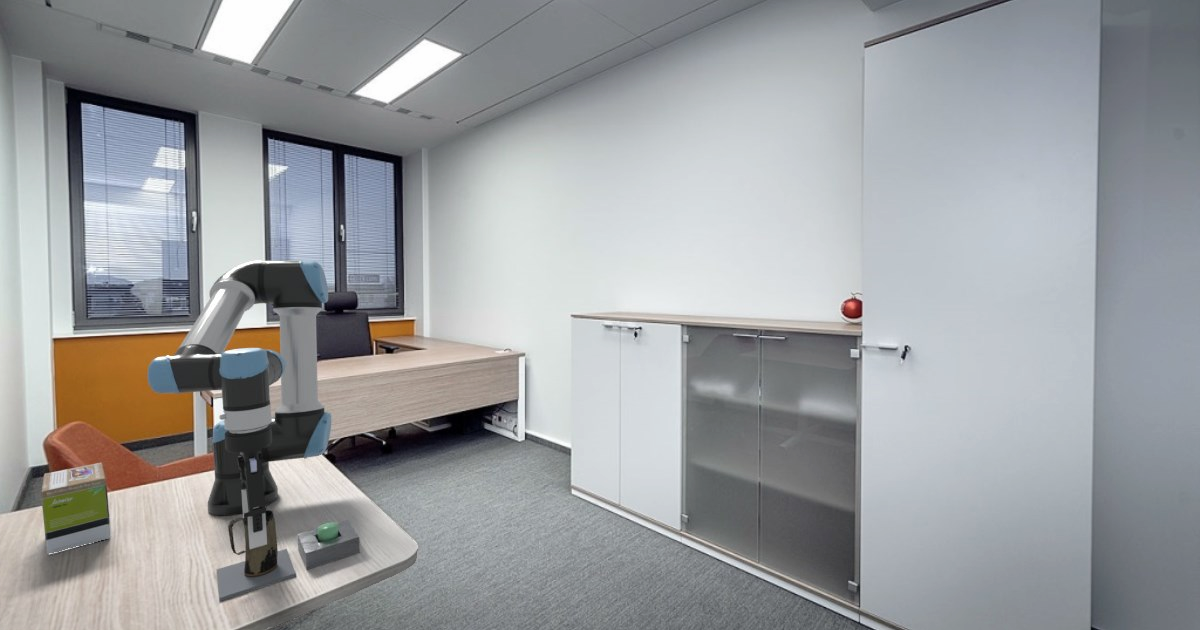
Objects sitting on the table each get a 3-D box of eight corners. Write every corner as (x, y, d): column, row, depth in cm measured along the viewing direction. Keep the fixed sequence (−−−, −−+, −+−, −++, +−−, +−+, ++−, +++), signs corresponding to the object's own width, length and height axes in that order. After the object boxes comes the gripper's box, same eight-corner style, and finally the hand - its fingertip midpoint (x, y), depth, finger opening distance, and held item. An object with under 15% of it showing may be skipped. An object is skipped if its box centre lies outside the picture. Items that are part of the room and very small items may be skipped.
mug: (268, 558, 103) (265, 502, 102) (284, 565, 100) (281, 508, 99) (225, 578, 96) (221, 519, 95) (241, 586, 93) (237, 525, 92)
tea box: (47, 533, 115) (43, 472, 114) (108, 518, 123) (104, 460, 122) (45, 557, 105) (40, 489, 104) (111, 539, 112) (107, 476, 112)
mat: (216, 572, 99) (216, 569, 99) (286, 551, 107) (286, 548, 106) (219, 601, 90) (219, 598, 90) (295, 576, 97) (295, 573, 97)
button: (316, 539, 106) (316, 526, 106) (336, 533, 109) (335, 520, 109) (320, 546, 104) (319, 532, 103) (340, 540, 106) (339, 526, 106)
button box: (298, 549, 107) (297, 534, 107) (348, 534, 113) (347, 520, 113) (306, 570, 99) (305, 553, 99) (360, 552, 106) (359, 536, 106)
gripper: (221, 417, 104) (227, 514, 105) (228, 449, 84) (235, 567, 86) (263, 410, 108) (269, 503, 110) (280, 439, 89) (286, 551, 91)
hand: (254, 531), depth 98 cm, fingers open, 13 cm apart
